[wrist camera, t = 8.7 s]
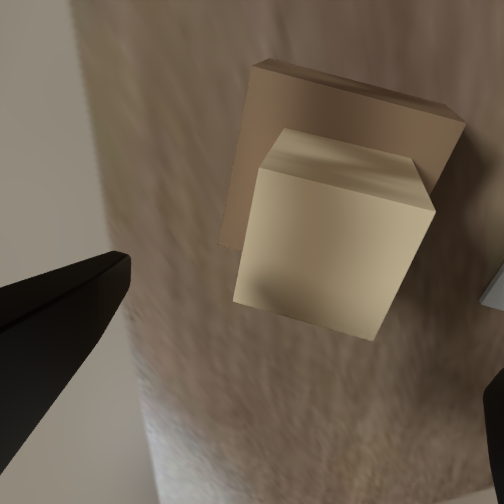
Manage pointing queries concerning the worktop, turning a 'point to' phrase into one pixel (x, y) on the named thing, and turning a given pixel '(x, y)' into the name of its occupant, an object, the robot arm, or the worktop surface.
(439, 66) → the worktop surface
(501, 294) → the card
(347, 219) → the maple cube
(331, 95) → the walnut block
